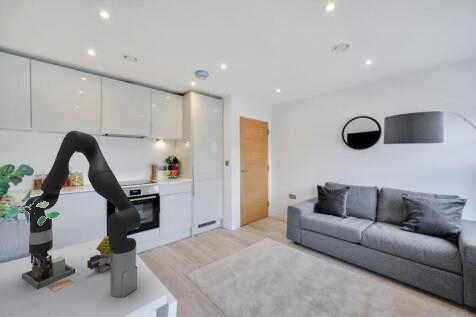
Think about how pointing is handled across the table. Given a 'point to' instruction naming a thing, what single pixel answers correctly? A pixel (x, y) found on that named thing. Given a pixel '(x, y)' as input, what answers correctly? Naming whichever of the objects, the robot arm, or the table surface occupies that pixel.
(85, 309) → the table surface
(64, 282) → the cork pad
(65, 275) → the tray
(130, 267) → the robot arm
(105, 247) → the toy
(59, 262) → the sage block
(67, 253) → the table surface
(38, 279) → the walnut block
